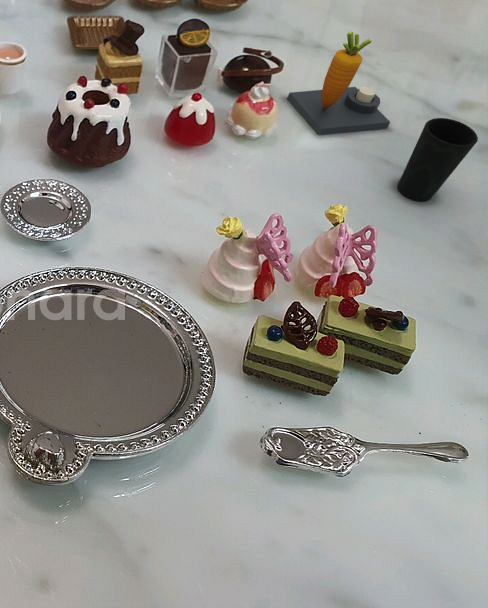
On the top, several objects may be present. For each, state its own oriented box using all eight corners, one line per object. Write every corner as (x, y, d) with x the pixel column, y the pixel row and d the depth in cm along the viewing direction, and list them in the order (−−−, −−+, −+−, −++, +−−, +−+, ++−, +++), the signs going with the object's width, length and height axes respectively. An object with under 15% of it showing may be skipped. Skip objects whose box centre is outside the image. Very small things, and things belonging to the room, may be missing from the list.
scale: (353, 92, 147) (360, 79, 145) (388, 128, 140) (396, 114, 137) (286, 98, 145) (292, 85, 143) (318, 135, 138) (324, 121, 135)
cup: (429, 212, 124) (469, 152, 115) (383, 191, 127) (418, 131, 118) (445, 190, 127) (484, 131, 119) (400, 171, 131) (435, 111, 122)
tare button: (366, 94, 142) (370, 86, 141) (374, 102, 140) (378, 94, 139) (352, 95, 142) (356, 87, 141) (360, 103, 140) (364, 95, 139)
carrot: (344, 110, 141) (380, 35, 129) (327, 119, 139) (363, 43, 127) (322, 98, 143) (355, 23, 132) (305, 106, 141) (338, 31, 130)
